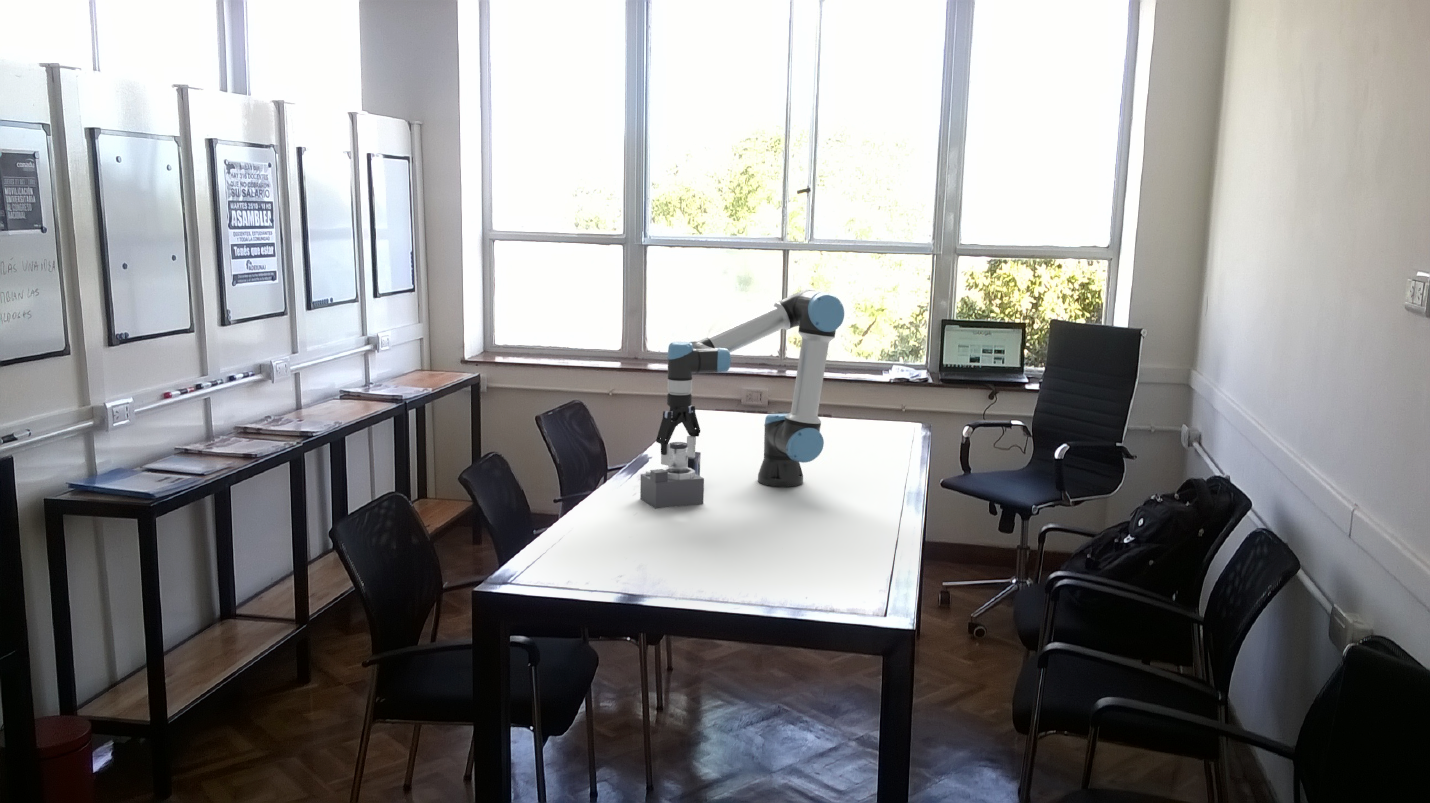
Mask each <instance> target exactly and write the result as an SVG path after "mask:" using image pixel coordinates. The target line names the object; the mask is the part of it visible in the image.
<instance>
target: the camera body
mask: <svg viewBox="0 0 1430 803" xmlns="http://www.w3.org/2000/svg"><path fill="white" fill-rule="evenodd" d="M704 487H705V478H704V477H702V476H701V475H700V476H699V475H697V474H695V470H693V469H691V468H688V473H682V474H676V473H669V472H668V466H667V467H664V468H660V469H659V468H658V469H656V468H655V469H650V470H648V471H647V470H646V471H645V473H640V492H639V493H640V495H639V496H640V497H639V498H640V499H639V500H641V501H643V502H645V503H646V504H648V505H649V506H651V507H652V508H654V509H655V510H656V509H657V510H659V509H664V508H665V509H666V508H675V506H677V507H682V506H683V507H685V506H686V507H687V506H695V505H704V496H705V495H704V494H705V492H704V490H705V488H704Z"/></svg>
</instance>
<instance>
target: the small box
mask: <svg viewBox="0 0 1430 803" xmlns="http://www.w3.org/2000/svg"><path fill="white" fill-rule="evenodd" d="M701 453H702V452H700V451H695V457H694V458H693V457H688V468H691V469H693V470H695V474H697V475H699V476H700V477H701V455H702V454H701Z"/></svg>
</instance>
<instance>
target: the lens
mask: <svg viewBox="0 0 1430 803" xmlns="http://www.w3.org/2000/svg"><path fill="white" fill-rule="evenodd" d="M668 444H670V465H667V467H668V472H669V473H676V474H682V473H688V447H687V442H683V441H674V442H669V443H668Z"/></svg>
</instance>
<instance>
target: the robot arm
mask: <svg viewBox="0 0 1430 803" xmlns="http://www.w3.org/2000/svg"><path fill="white" fill-rule="evenodd" d="M844 318H845V308H844V305H843V304H842V302H841V300H840V299H839V298H838V297H837V296H835V295H833V294H830V292H825V291H824V292H823V291H817V290H811V289H806V290H802V291H799V292H796V293H794V294H791V295H789V296H788V297H785V298H783V299H781V300H779V301H776V302H775V303H774V305H773V307H771V308H768V309H766V310H764V311H762V312H760V313H758V314H756V315H753V316H751V317H749V318H747V319H745V320H743V321H740V322H738V323H736V324H734V325H731V326H730V327H727V328H725V329H722V330H721V331H718V332H716V333H714V334H712V335H710V336H707V337H705V338H702V339H701V340H700V339H699V340H698V341H689V342H688V341H673V342H670V343H669V344H668V349H667V357H666V358H667V389H666V390H667V392H668V393H667V394H666V397H667V398H666V405H667V406H668V407H669V410H663V411H662V419H661V422H660V426H659V429H658V433H657V436H656V440H655V441H656V443H658V444H660V464H661V465H662V466H663V465H664V466H668V465H670V444H669V443H670V440H671V439H672V436H673V434H674V432H675V430H676V427H678V426H679V425H680V424H681V423H682V425H683V427H684V428H685V431H686V432H687V434H688V435H687V436H686V443H687V447H688V457H693V458H694V457H695V452H696V443H697V441H696V440H697V437H699V436H700V433H701V428H700V424H699V421H698V418H697V414H696V406H695V405H692V404H693V403H692V401H693V400H692V399H693V394H692V392H693V374H706V373H707V374H708V373H709V374H711V373H712V374H715V373H716V374H719V373H726V372H728V371H729V370H730V368H731V363H732V357H731V356H732V355H731V353H732V352H735V351H737V350H739V349H741V348H743V347H745V346H748V345H750V344H752V343H754V342H757V341H759V340H761V339H763V338H765V337H767V336H770V335H772V334H774V333H776V332H778V331H780V330H782V329H783V330H786V331H788V330H790V329H792V328H795V327H798V334H799V335H800V336H801V344H800V351H799V357H798V363H797V369H796V375H795V376H796V378H795V382H794V390H793V396H792V403H791V409H790V412H789V413H770V414H767V415H766V417H765V418H764V419H765V420H764V423H763V424H764V425H763V426H764V437H763V438H764V442H763V443H764V444H763V460H762V463H761V465H760V469H759V470H758V473H757V481H758V483H760V484H762V485H764V486H765V485H766V486H770V487H777V488H779V487H780V488H781V487H782V488H783V487H784V488H785V487H786V488H787V487H790V488H791V487H796V486H797V487H798V486H800V485H802V484H803V483H804V475H803V471H802V467H801V463H803V464H804V463H811V462H812V461H814V460H815V459H817V458H818V457H819V456H820V455H821V453H822V451H823V449H824V446H825V444H824V443H825V441H824V437H823V435H822V433H821V426H822V420H821V419H820V418H819V416H818V415H819V409H820V408H819V407H820V402H821V401H820V399H821V395H822V388H823V382H824V378H825V377H824V376H825V369H826V364H827V363H826V362H827V357H828V349H829V344H830V342H831V341H832V340H833V339H835V336H836V332H837V329H838V328H839V327H841V325H842V324H843V322H844Z"/></svg>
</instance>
